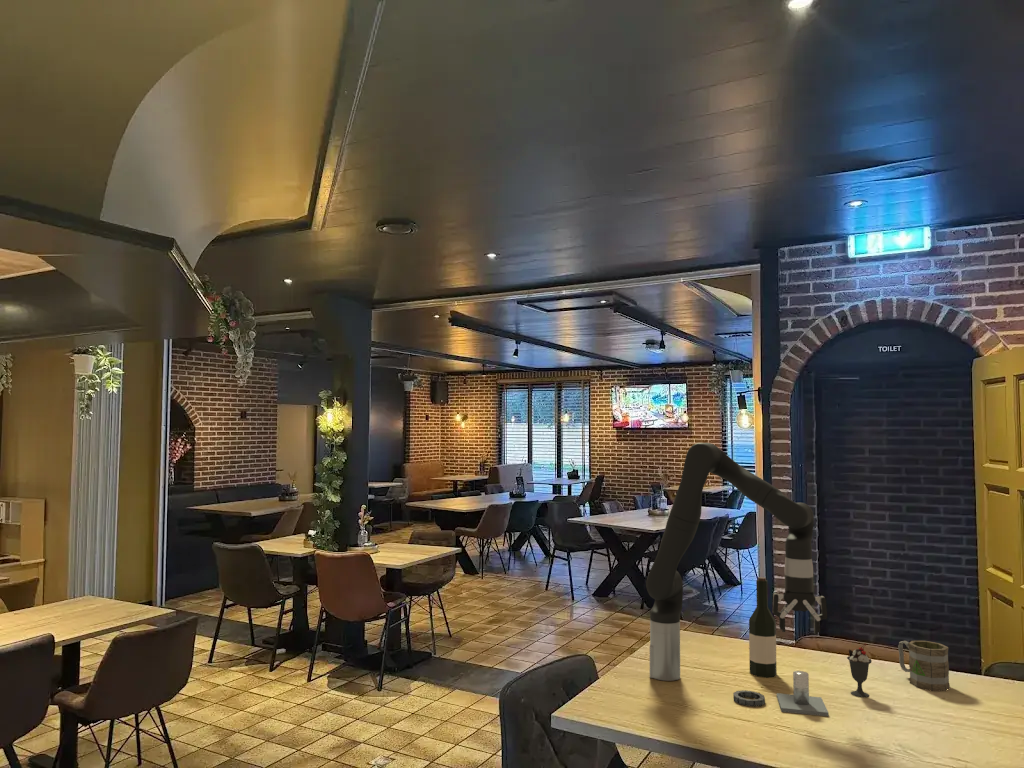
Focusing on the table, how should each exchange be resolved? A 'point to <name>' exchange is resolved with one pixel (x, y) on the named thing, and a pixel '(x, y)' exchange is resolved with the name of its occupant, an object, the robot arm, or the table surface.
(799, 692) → the cylinder
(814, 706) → the slate mat
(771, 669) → the wine bottle
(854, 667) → the sundae
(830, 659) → the table surface
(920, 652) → the mug
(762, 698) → the metal eye
